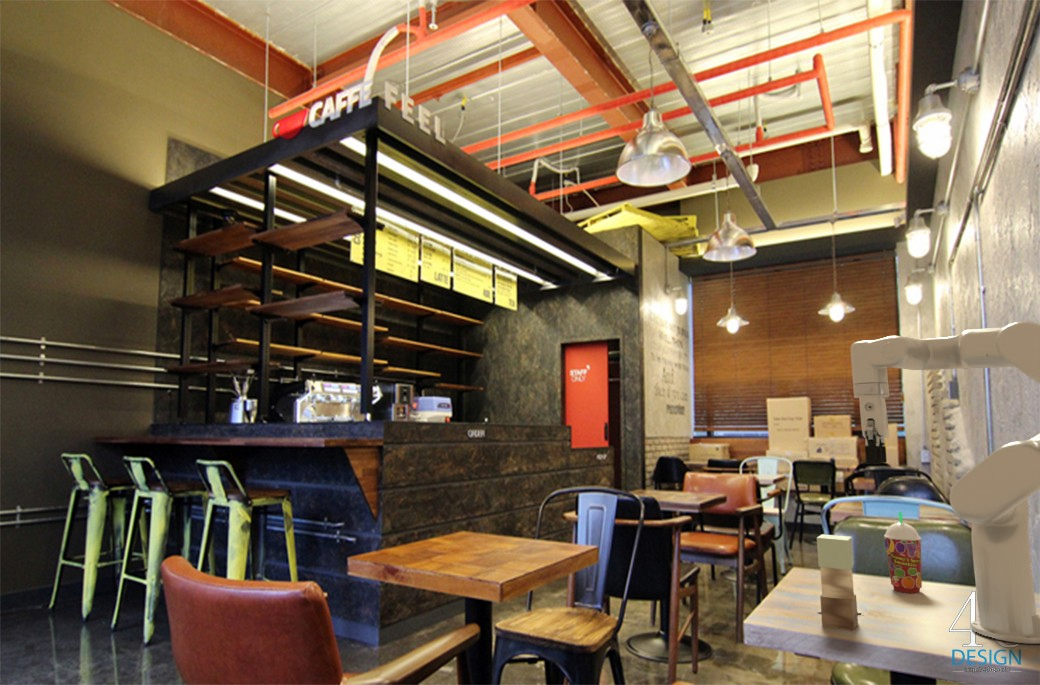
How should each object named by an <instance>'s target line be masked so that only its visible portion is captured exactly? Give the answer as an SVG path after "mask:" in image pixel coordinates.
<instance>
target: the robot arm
mask: <svg viewBox="0 0 1040 685" xmlns="http://www.w3.org/2000/svg"><path fill="white" fill-rule="evenodd" d="M850 362H851V373H852V375H851V376H852V387H853V397H854V399H858V400H859V412H860V423H861V424H860V426H861V432H862V437H863V438H864V439H865V441H864V442H865V446H864V451H865V453H864V454H865V463H866V464H867V465H869V464H870V465H881V464H885V463H887V450H886V448H887V447H886V445H885V439H888V438H890V430H889V421H888V419H889V418H888V412H887V410H888V409H887V404H886V403H887V402H886V399H885V398H890V390H889V389H890V388H889V377H888V368H891V369H892V368H893V369H902V370H909V371H931V370H956V369H961V370H962V369H963V370H969V369H971V370H972V369H990V368H991V369H993V368H996V369H997V368H1016V369H1017V370H1019V371H1020V372H1021V373H1023V374H1025V375H1026V376H1027V377H1029V378H1030V379H1031V380H1033V381H1034V382H1036V383H1038V385H1040V323H1038V322H1034V321H1028V320H1024V321H1023V320H1021V321H1016V322H1015V321H1014V322H1012V323H1009V324H1008V325H1005V326H1001V327H989V328H971V329H970V328H969V329H965V330H963V331H962V332H960V333H959V334H957V335H955V336H954V335H952V336H948V337H947V336H946V337H938V338H937V337H936V338H935V337H934V338H918V339H917V338H913V337H907V336H900V335H889V336H886V337H883V338H879V339H874V340H861V341H856V342H853V343H852V344H851V346H850ZM1039 491H1040V432H1039V433H1038V434H1036V435H1035V436H1032V437H1031V438H1030V439H1027V440H1017V441H1012V442H1009V443H1006V444H1003V445H1002V446H1000V447H998V448H997V449H995V451H992V453H990V454H989V455H988V456H987V457H985V458H984V459H983V460H981V461H979V462H978V464H977V465H975V466H974V467H972V469H970V470H969V471H968V472H966V473H965V474H964V475H963V476H961V477H960V478H959V479H958V480H957V481H956V482H955V483H954V484H953V486H952V487H951V490H950V493H949V503H950V507H951V509H952V510H953V512H954V513H955V514H956V515H957V516H958V517H959V518H960V519H961V520H963V521H965V522H967V523H970V524H971V547H972V560H973V570H974V571H973V572H974V579H975V590H976V592H975V593H976V601H977V609H978V619H979V620H974V621H972V622H970V629H971V630H972V631H973V632H974V633H976V632H977V633H976V634H978V633H979V634H978V635H980V634H982V635H981V636H983V635H986V636H990V637H994V638H996V639H995V640H998V641H1005V642H1010V643H1017V644H1028V645H1029V644H1030V645H1040V615H1039V612H1038V611H1037V602H1036V596H1035V586H1034V578H1033V570H1032V568H1033V567H1032V560H1031V549H1030V539H1029V521H1030V520H1029V515H1030V514H1029V513H1030V509H1029V507H1030V506H1029V501H1028V499H1029V498H1030V497H1031V496H1033V495H1034V494H1036V493H1037V492H1039ZM986 636H985V637H986Z"/></svg>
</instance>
